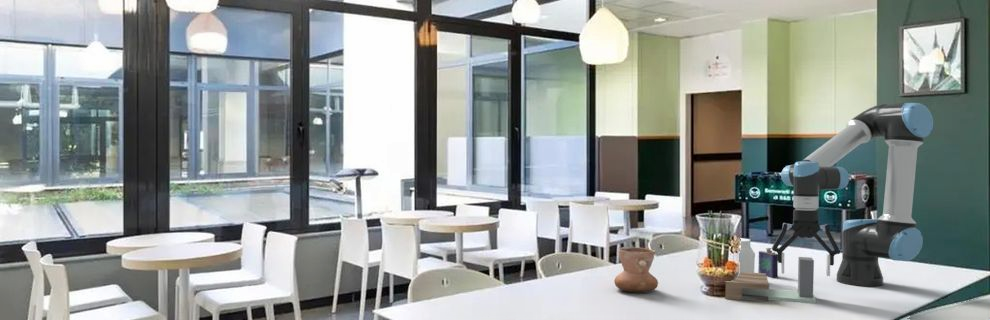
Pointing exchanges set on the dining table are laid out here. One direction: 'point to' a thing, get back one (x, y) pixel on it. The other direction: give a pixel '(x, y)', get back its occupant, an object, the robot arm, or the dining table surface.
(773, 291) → the green platform with post
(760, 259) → the flask
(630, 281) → the ceramic jug
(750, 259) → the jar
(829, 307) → the dining table surface
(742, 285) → the dock
